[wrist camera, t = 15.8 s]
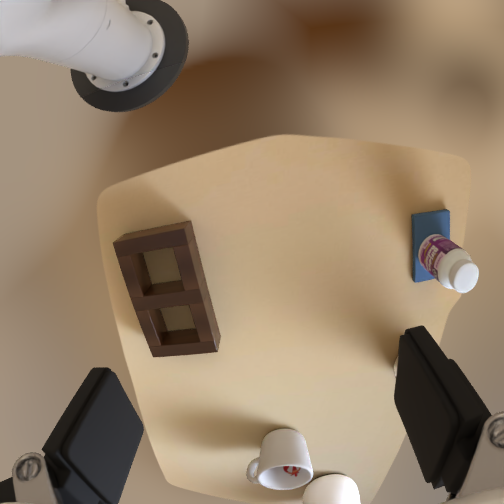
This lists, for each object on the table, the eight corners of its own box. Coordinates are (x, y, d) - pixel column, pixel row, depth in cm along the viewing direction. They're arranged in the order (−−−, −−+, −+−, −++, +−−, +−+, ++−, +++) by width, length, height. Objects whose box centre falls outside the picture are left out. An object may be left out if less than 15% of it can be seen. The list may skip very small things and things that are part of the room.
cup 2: (312, 467, 59) (317, 516, 47) (364, 468, 60) (375, 513, 47) (294, 492, 64) (296, 536, 51) (342, 493, 64) (348, 534, 51)
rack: (124, 234, 43) (112, 242, 39) (191, 220, 42) (184, 228, 38) (160, 342, 49) (153, 357, 45) (221, 336, 48) (217, 352, 44)
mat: (411, 214, 41) (414, 216, 40) (446, 209, 40) (449, 210, 39) (412, 280, 44) (415, 283, 43) (445, 272, 43) (448, 275, 42)
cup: (263, 462, 59) (263, 499, 49) (233, 441, 56) (229, 481, 47) (318, 439, 56) (323, 478, 46) (290, 415, 53) (292, 458, 44)
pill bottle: (416, 237, 41) (450, 261, 32) (447, 230, 40) (484, 252, 31) (417, 272, 42) (448, 303, 33) (447, 264, 42) (481, 292, 33)
